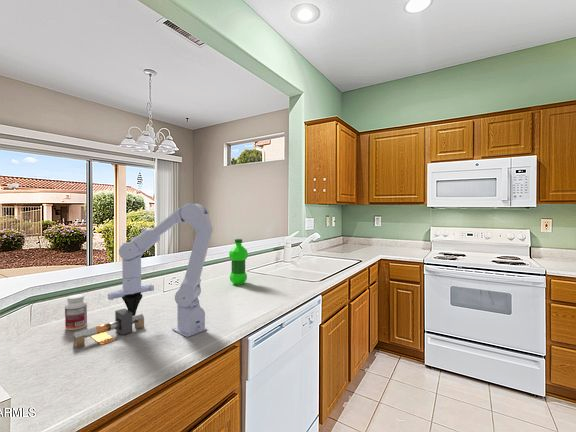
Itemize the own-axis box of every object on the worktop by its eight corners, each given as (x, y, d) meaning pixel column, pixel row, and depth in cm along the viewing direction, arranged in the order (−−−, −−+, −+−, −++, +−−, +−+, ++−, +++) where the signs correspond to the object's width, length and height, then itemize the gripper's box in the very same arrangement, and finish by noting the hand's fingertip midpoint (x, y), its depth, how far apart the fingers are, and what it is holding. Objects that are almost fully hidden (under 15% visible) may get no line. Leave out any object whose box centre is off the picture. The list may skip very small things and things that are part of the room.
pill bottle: (72, 323, 104) (72, 293, 104) (90, 323, 105) (90, 293, 105) (60, 331, 98) (60, 299, 98) (80, 330, 99) (79, 298, 98)
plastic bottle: (232, 281, 167) (232, 238, 166) (249, 281, 165) (250, 238, 165) (226, 285, 157) (226, 240, 156) (244, 286, 155) (245, 240, 155)
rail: (136, 323, 106) (136, 311, 105) (148, 329, 100) (148, 316, 100) (70, 342, 90) (70, 328, 90) (80, 351, 84) (79, 337, 84)
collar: (124, 327, 101) (124, 308, 101) (132, 331, 97) (132, 312, 97) (115, 329, 99) (115, 310, 98) (122, 334, 95) (122, 315, 95)
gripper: (147, 271, 108) (147, 307, 108) (104, 278, 96) (104, 318, 97) (156, 274, 103) (156, 311, 104) (112, 282, 92) (112, 324, 92)
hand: (132, 315), depth 100 cm, fingers closed
